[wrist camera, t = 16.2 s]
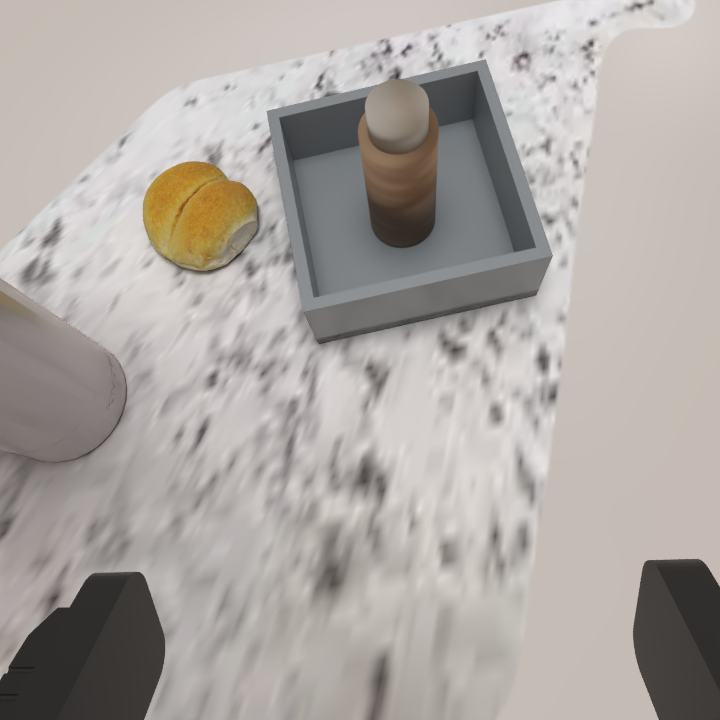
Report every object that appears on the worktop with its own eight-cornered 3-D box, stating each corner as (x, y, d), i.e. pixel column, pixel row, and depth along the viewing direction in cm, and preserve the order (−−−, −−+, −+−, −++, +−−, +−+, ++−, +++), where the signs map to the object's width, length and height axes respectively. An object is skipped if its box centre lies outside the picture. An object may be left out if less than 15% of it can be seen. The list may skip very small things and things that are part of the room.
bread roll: (197, 160, 51) (179, 128, 47) (277, 215, 49) (265, 186, 45) (128, 232, 49) (104, 205, 46) (207, 292, 47) (189, 269, 43)
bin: (318, 343, 44) (303, 311, 39) (284, 162, 50) (266, 111, 44) (536, 295, 44) (552, 255, 38) (478, 117, 49) (485, 59, 44)
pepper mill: (377, 254, 45) (363, 148, 34) (365, 199, 47) (347, 81, 35) (441, 240, 45) (448, 129, 34) (427, 185, 47) (429, 62, 35)
